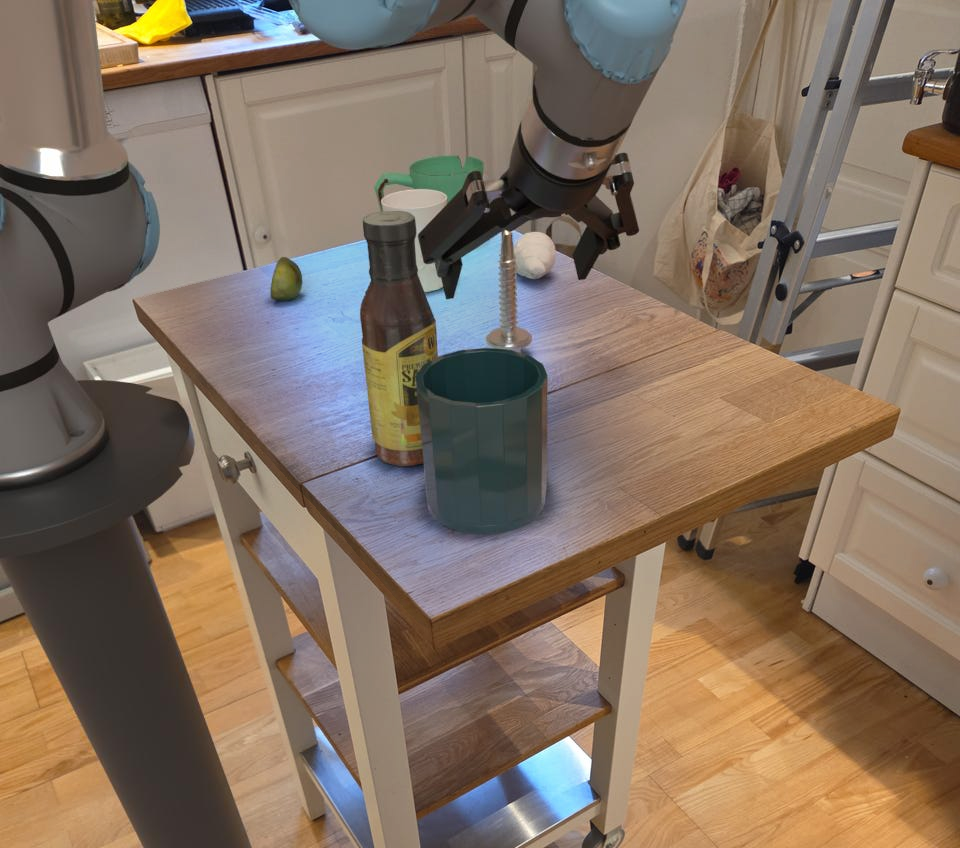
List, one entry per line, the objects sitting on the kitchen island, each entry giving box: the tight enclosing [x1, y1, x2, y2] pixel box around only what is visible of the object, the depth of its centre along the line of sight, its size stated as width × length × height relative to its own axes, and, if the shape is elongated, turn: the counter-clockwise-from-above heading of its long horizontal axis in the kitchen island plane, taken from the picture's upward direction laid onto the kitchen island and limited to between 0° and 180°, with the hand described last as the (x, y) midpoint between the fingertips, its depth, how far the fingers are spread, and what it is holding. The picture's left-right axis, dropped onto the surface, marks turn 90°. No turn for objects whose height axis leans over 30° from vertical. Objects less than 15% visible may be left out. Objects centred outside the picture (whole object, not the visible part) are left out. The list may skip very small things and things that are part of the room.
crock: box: [415, 347, 549, 535], centre depth 69 cm, size 10×10×11 cm
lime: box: [269, 256, 303, 302], centre depth 107 cm, size 4×5×5 cm
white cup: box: [381, 188, 447, 293], centre depth 108 cm, size 8×8×10 cm
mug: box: [373, 154, 485, 212], centre depth 118 cm, size 15×10×10 cm
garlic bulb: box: [513, 231, 557, 280], centre depth 108 cm, size 6×6×5 cm
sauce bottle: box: [359, 211, 439, 467], centre depth 73 cm, size 6×6×20 cm
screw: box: [485, 230, 533, 353], centre depth 89 cm, size 13×5×5 cm
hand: (513, 276), depth 86 cm, fingers open, 13 cm apart
